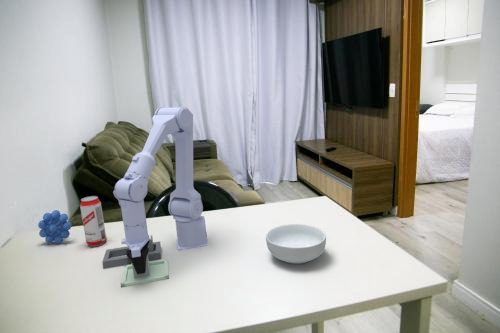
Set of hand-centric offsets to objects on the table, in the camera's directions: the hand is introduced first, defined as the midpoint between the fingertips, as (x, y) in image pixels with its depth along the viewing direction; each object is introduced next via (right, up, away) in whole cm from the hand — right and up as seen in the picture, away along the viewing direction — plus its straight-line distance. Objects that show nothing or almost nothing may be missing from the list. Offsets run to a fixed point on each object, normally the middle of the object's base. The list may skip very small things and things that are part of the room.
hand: (141, 269), depth 93 cm
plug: (0, -1, 0) cm, 1 cm away
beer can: (-22, +2, +22) cm, 31 cm away
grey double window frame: (-6, 0, +10) cm, 12 cm away
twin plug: (-2, +1, +11) cm, 11 cm away
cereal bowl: (+43, +2, +6) cm, 43 cm away
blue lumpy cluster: (-36, +2, +25) cm, 44 cm away
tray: (+1, -2, +1) cm, 2 cm away
